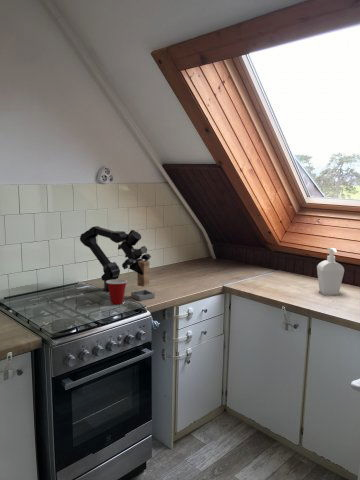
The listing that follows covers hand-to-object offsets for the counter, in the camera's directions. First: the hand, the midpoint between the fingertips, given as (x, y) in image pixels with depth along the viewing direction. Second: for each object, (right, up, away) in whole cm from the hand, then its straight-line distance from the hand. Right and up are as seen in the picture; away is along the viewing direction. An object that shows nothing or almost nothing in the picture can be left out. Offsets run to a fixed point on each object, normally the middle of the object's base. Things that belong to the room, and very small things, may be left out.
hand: (145, 273), depth 224 cm
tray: (-2, -13, +3) cm, 13 cm away
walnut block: (-1, -6, +2) cm, 7 cm away
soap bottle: (+102, -12, +12) cm, 104 cm away
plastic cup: (-14, -15, -7) cm, 22 cm away
